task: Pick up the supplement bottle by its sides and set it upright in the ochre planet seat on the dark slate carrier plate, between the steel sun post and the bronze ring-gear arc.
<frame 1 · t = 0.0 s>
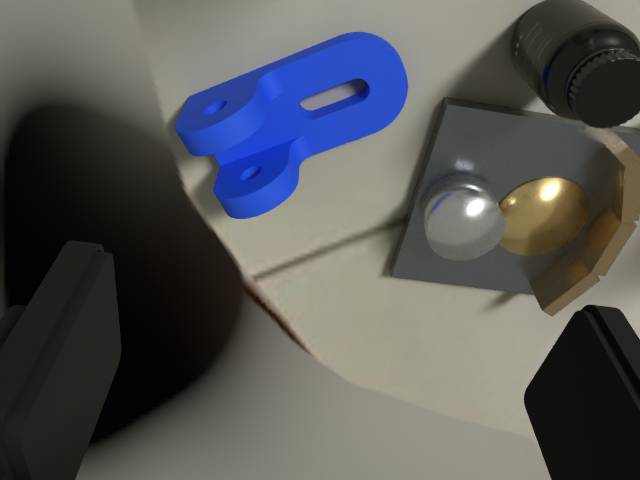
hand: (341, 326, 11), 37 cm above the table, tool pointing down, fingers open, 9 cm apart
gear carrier: (501, 204, 53), on the table
bracket: (303, 100, 47), on the table
supplement bottle: (549, 37, 44), on the table
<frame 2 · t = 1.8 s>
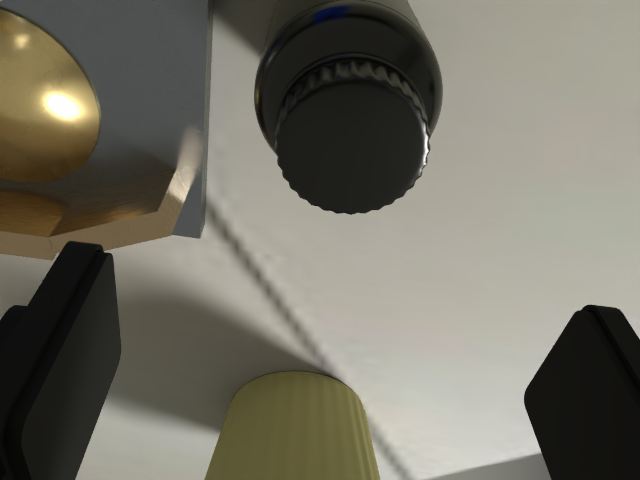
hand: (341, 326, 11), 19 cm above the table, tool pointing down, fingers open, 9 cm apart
potted cactus: (296, 411, 45), on the table
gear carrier: (5, 19, 26), on the table
supplement bottle: (342, 33, 26), on the table
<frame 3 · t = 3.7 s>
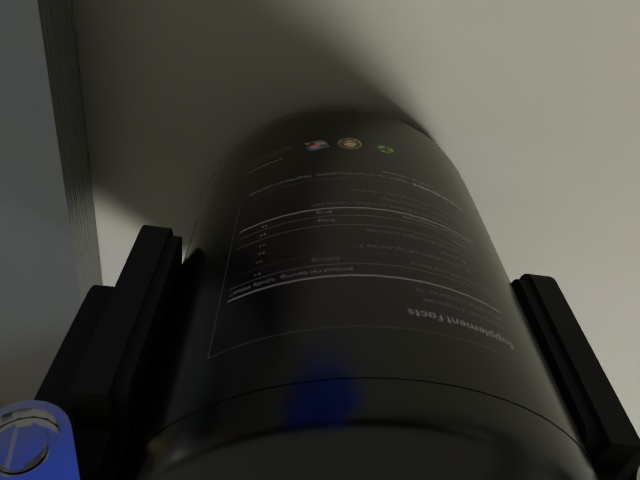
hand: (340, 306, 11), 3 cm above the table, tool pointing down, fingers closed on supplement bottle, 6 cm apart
supplement bottle: (336, 215, 14), on the table, touching gripper
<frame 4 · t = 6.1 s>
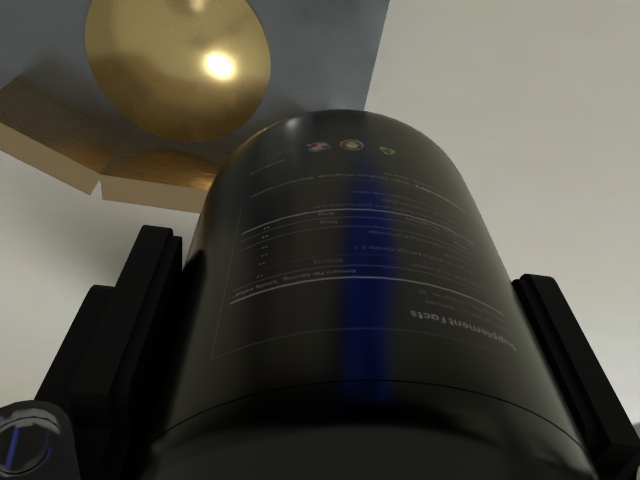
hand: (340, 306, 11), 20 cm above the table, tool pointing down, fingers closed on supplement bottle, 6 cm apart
supplement bottle: (337, 216, 14), point 17 cm above the table, touching gripper
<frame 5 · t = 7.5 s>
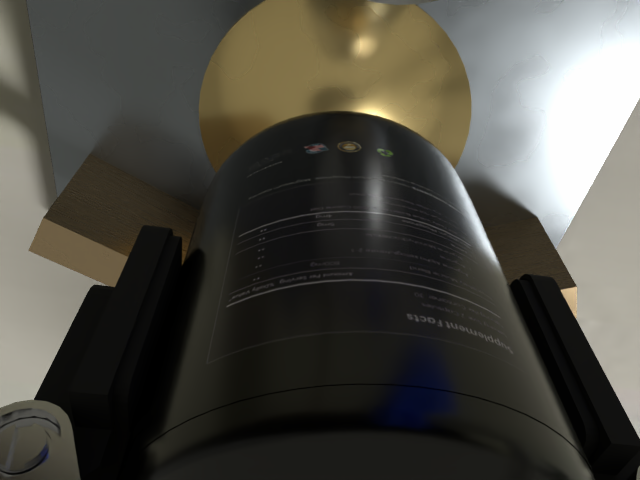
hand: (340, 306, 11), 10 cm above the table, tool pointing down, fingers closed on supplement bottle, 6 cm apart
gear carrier: (352, 8, 17), on the table
supplement bottle: (335, 218, 14), point 7 cm above the table, touching gripper
when the fingers open (6 cm above the table, at t = 8.9 s): supplement bottle drops 1 cm, resting on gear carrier.
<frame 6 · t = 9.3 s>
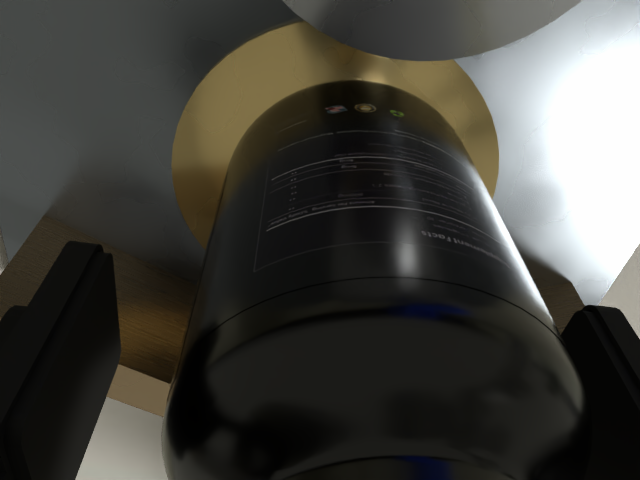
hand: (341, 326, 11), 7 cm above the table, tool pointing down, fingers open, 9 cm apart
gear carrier: (356, 45, 15), on the table
supplement bottle: (347, 183, 15), point 2 cm above the table, touching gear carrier
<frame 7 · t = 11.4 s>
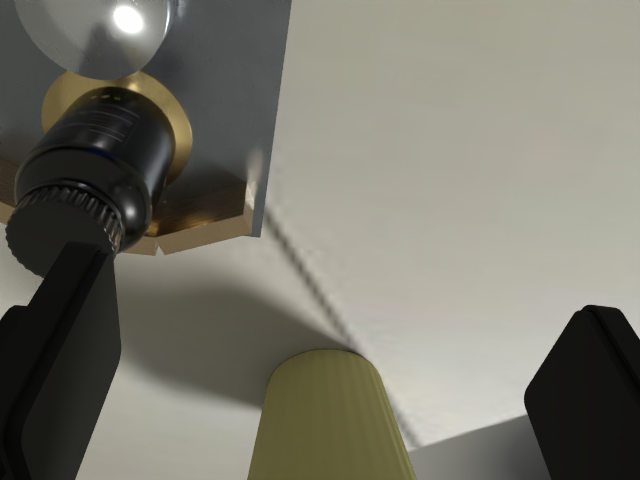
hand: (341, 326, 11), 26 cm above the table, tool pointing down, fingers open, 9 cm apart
potted cactus: (323, 385, 53), on the table
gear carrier: (122, 71, 33), on the table
supplement bottle: (124, 132, 34), point 2 cm above the table, touching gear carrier
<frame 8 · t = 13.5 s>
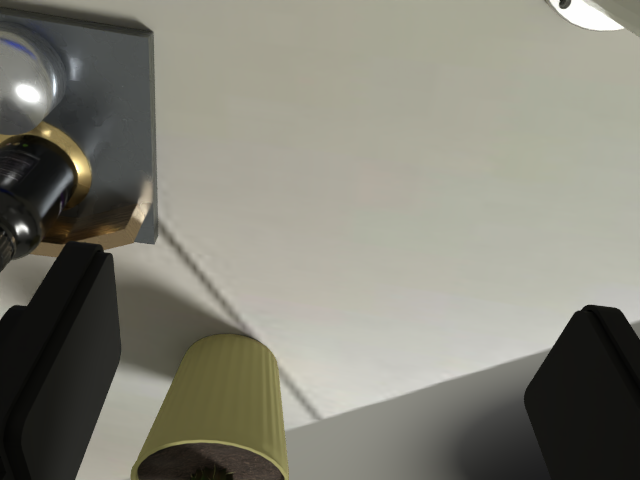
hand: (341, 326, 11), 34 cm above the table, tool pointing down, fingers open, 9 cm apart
potted cactus: (230, 364, 64), on the table
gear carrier: (37, 121, 45), on the table
supplement bottle: (40, 166, 46), point 2 cm above the table, touching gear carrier
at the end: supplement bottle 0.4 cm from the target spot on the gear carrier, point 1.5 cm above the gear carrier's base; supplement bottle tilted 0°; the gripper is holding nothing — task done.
